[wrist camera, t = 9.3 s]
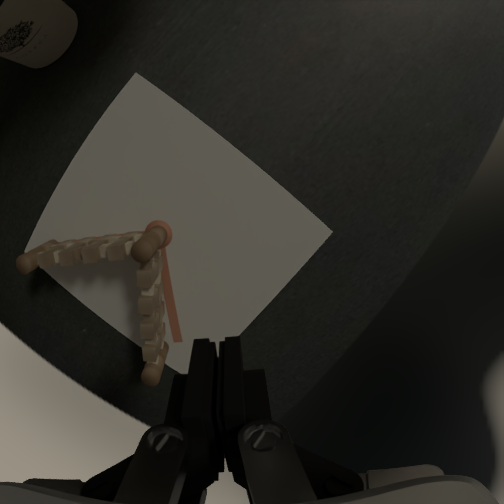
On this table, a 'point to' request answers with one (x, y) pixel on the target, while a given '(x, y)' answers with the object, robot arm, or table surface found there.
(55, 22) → the travel mug
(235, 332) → the card
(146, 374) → the fence gate
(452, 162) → the table surface
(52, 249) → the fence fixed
